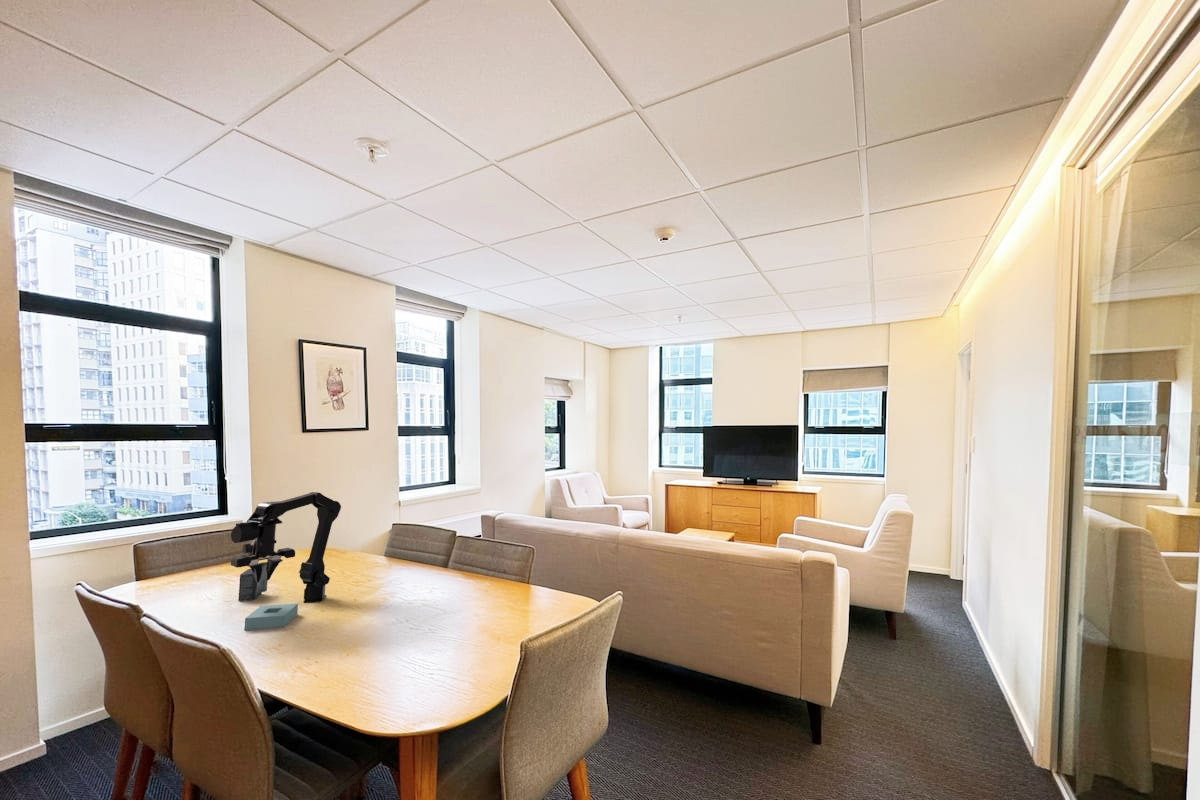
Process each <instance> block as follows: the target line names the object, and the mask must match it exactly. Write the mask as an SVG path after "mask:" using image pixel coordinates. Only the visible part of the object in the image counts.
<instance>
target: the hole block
mask: <svg viewBox="0 0 1200 800" xmlns="http://www.w3.org/2000/svg"><path fill="white" fill-rule="evenodd" d="M298 606H299V603H286V604H285V603H283V604H282V603H281V604H266V605H260V606H259V607H258V608H256V609H255V610H254V611H252V612H251V613H250V614H249V615H247V616H246V617H245V618H244V628H243V629H244V631H251V630H252V631H253V630H255V631H256V630H267V629H279V628H282V629H283V628H286V626H288V625H289V624H290V622H291V621H292V620H293V619H294V618H295V617H297V616H298V609H299V607H298Z"/></svg>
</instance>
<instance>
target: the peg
mask: <svg viewBox="0 0 1200 800" xmlns="http://www.w3.org/2000/svg"><path fill="white" fill-rule="evenodd" d="M258 564H261V567H260V578H259V582H258V583H257V592H262V593H264V592H267V591H268V583H269V582H268V581H269V580H268V567H269V562H267V561H262V562H258Z"/></svg>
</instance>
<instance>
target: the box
mask: <svg viewBox="0 0 1200 800" xmlns="http://www.w3.org/2000/svg"><path fill="white" fill-rule="evenodd" d="M238 587H239V588H238V602H243V600H247V601H255V600H256V599H257V598H258V597H259V596H261V595H262V594H261V593H263V592H257V582H256V580H255V578H254V575H253V572H252V570H251V568H248V569H246V570H245V571H243V572H242V573H240V574H239V586H238ZM254 599H255V600H254Z"/></svg>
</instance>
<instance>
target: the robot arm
mask: <svg viewBox="0 0 1200 800" xmlns="http://www.w3.org/2000/svg"><path fill="white" fill-rule="evenodd" d="M309 505H312V506H313V507H314V508H315V509H317V512H316V516H317V520H318V523H317V528H316V531H315V534H314V539H313V543H312V546H311V551H310V554H309V557H308V559H307V560H306V561H305V562H304V561H302V562H301V564H300V568H299V571H298V573H299V578H300V580H301V581H302V583H303V585H305V588H304V589H303V591H304V592H303V602H302V603H314V602H315V601H319V602H322V601H324V600H325V598H326V597H327V594H326V585H328V584H329V582H330V580H331V578H330V576H328V575H327V574H326V573H325V568H326V566H325V561H324V557H325V556H324V555H325V552H326V548H327V545H328V541H329V536H330V533H331V529H332V525H333V523H334V521H335V520H336V519H337V518H338V517H339V514H340V511H342V510H341V509H342V505H341V503H340V502H339V501H338V500H333V499H332V498H329V497H327V496H325V495H324V494H322V493H321V492H317V491H310V492H308V493H306V494H302V495H298V496H295V497H292V498H287V499H283V500H280V501H267V502H266V501H265V502H260V503H259V504H258V505H256V508H255V509H254V511H253V513H252V514H251V515H250V517H249V518H248V519H247V520H246V521H245V522H236V523H235V526H234V527H233V529H232V530H231V533H230V537H231V538H230V539H231V540H232V542H233V543H234V544H238V543H240V544H241V543H245V542H249V541H254V542H253V544H252V545H251V543H246V544H243V545H242V554H243V555H238V556H233V557H232V558H231V560H230V566H231V567H232V566H233V567H234V568H243V567H244V568H245V567H248V568H249V569H251V570H252V572H253V575H254V578H255V580H256V582H257V583H258V582H259V578H260V567H261V564H259V563H260V561H265V560H267V561H266V562H269V567H268V581H270V579H271V577H272V575H273V573H274V572H275V570H276V569H277V568H278V565H280V563H281V562H284V561H283V559H282V557H284V558H285V559H290V558H295V557H296V550H295V549H293V548H290V547H285V548H278V549H277V551H276V550H275V544H277V540H276V531H277V525H279V524H283V521H282V520H280V519H279V517H282V516H283V515H284V514H285V513H287V512H289V511H292V510H296V509H299V508H301V507H306V506H309ZM246 554H248V555H246ZM315 603H316V602H315Z"/></svg>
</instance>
